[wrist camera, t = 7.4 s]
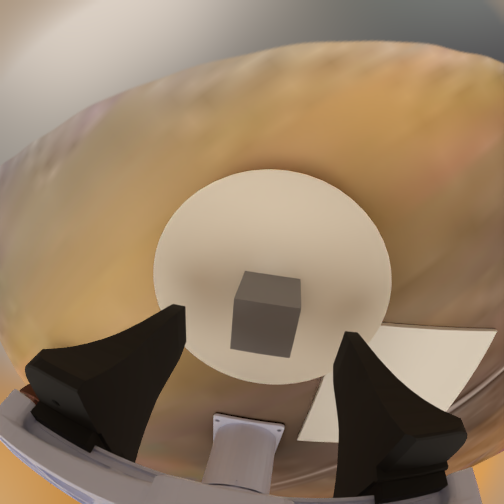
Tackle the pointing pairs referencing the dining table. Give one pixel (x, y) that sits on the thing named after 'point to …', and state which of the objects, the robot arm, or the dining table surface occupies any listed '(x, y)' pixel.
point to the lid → (272, 274)
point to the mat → (409, 369)
